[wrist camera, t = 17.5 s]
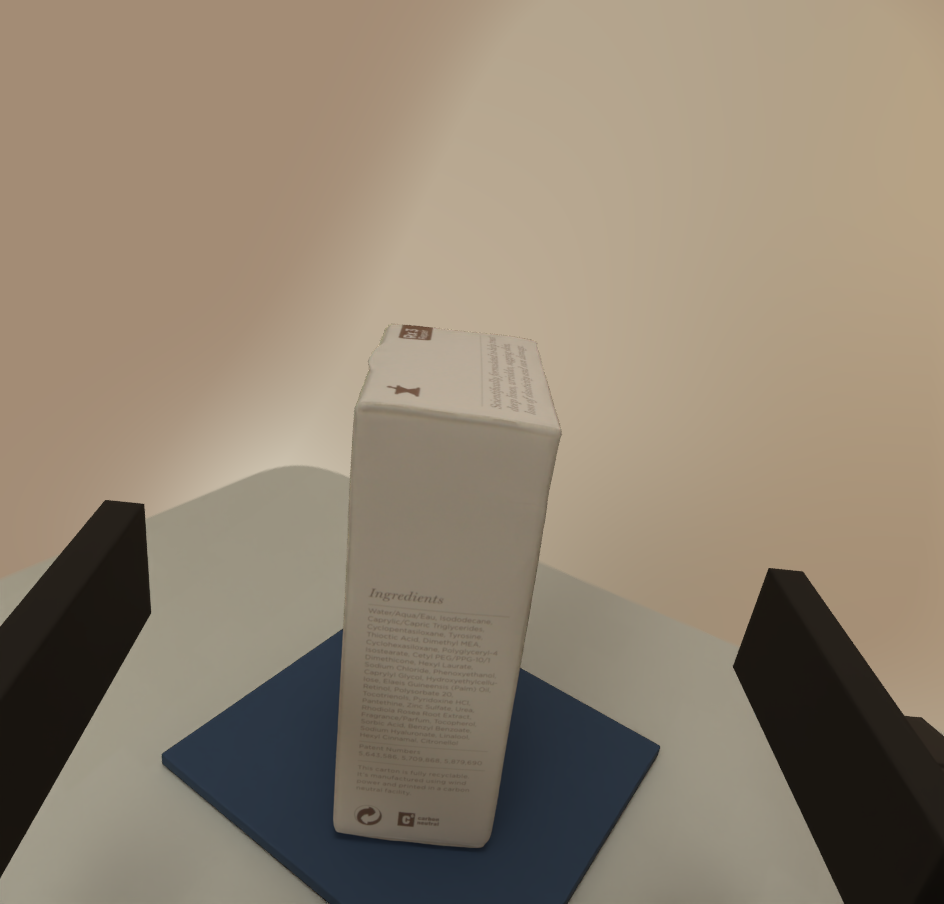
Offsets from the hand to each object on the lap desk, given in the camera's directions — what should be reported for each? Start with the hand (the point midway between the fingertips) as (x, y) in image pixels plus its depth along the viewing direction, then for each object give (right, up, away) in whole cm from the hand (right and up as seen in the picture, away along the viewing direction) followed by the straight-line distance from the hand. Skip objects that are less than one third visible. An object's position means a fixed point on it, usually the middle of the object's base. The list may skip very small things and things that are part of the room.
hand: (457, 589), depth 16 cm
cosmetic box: (-1, -6, +6) cm, 9 cm away
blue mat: (-1, -6, +7) cm, 9 cm away
